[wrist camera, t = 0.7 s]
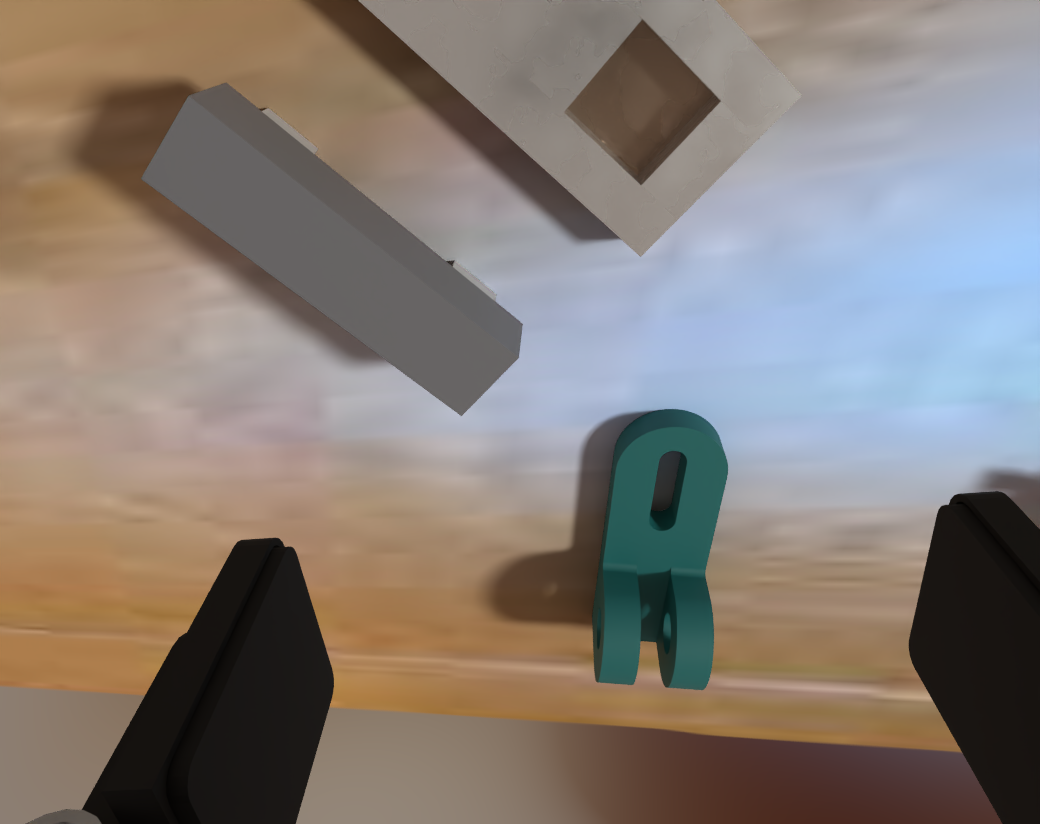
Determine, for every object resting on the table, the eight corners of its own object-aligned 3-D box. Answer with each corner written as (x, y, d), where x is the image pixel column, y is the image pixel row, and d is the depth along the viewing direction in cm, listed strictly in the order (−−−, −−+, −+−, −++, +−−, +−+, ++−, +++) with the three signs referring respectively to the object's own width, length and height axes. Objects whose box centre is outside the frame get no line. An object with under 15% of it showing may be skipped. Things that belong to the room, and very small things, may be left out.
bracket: (683, 620, 55) (700, 712, 48) (592, 613, 55) (595, 704, 48) (730, 411, 45) (759, 488, 39) (619, 404, 46) (629, 480, 39)
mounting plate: (419, -316, 29) (405, -343, 26) (785, 85, 36) (801, 95, 33) (286, -82, 33) (263, -86, 31) (635, 237, 40) (640, 256, 37)
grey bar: (250, 74, 37) (188, 95, 31) (525, 301, 42) (518, 357, 36) (206, 145, 39) (140, 178, 33) (475, 354, 44) (461, 416, 38)
